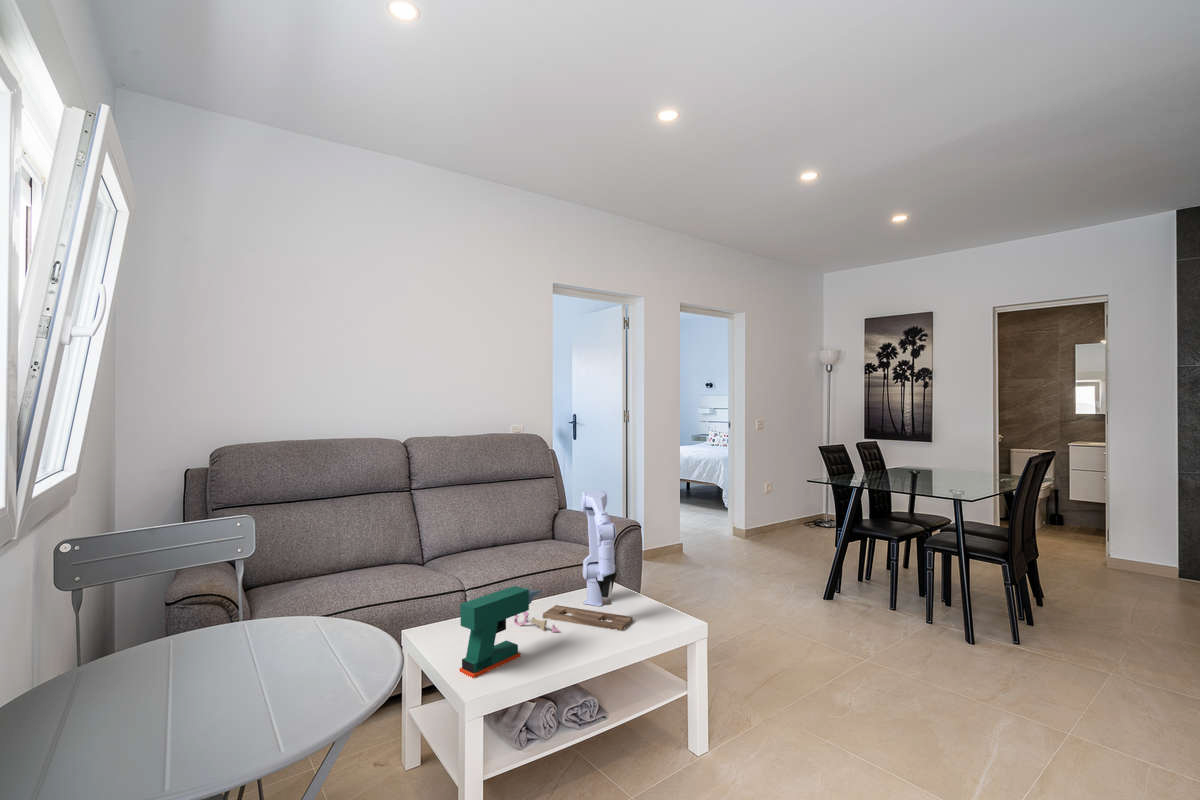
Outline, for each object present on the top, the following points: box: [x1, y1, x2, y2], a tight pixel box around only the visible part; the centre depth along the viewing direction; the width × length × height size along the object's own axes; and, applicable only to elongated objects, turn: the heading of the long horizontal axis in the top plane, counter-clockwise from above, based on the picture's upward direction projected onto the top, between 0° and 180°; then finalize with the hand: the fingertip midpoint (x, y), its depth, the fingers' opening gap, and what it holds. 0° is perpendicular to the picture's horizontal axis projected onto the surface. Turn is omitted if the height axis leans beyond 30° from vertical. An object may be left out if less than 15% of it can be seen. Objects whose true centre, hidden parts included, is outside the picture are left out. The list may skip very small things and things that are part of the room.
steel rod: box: [602, 581, 613, 606], centre depth 207 cm, size 4×4×8 cm
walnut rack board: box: [542, 604, 634, 631], centre depth 210 cm, size 10×32×2 cm, turn 65°
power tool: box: [459, 585, 543, 679], centre depth 180 cm, size 32×7×20 cm, turn 141°
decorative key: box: [513, 611, 561, 633], centre depth 202 cm, size 7×1×20 cm
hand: (606, 595), depth 207 cm, fingers closed on steel rod, 4 cm apart
